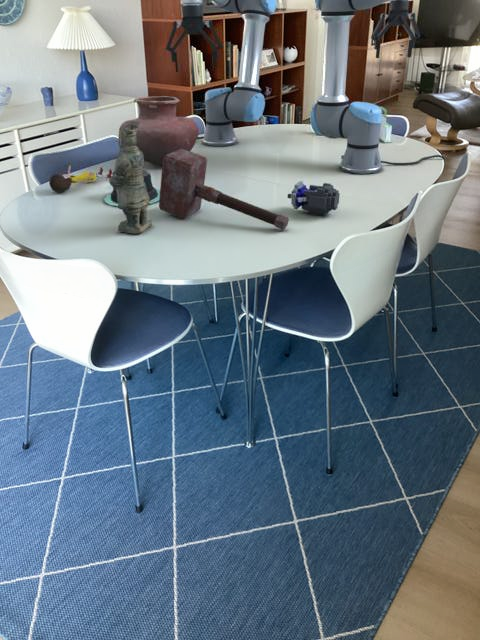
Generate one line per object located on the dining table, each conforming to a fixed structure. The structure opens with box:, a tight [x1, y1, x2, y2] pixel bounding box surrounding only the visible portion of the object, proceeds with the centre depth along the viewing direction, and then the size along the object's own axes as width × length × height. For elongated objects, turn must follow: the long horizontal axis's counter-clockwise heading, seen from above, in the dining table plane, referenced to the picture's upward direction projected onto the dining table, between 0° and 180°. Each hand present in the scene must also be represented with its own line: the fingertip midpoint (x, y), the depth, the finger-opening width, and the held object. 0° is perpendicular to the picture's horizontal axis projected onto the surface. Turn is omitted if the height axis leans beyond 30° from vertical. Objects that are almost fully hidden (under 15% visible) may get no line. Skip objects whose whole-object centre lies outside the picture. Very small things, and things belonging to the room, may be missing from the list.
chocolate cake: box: [103, 168, 160, 207], centre depth 186 cm, size 15×19×20 cm
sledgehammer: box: [158, 149, 290, 231], centre depth 163 cm, size 17×10×40 cm
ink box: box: [379, 106, 393, 143], centre depth 248 cm, size 3×10×14 cm, turn 4°
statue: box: [108, 121, 153, 235], centre depth 154 cm, size 11×9×30 cm
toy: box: [287, 180, 341, 216], centre depth 168 cm, size 9×9×15 cm
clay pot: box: [118, 95, 200, 166], centre depth 218 cm, size 30×30×25 cm
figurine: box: [48, 164, 113, 193], centre depth 199 cm, size 13×8×25 cm
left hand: (195, 71), depth 204 cm, fingers open, 13 cm apart
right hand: (393, 57), depth 234 cm, fingers open, 13 cm apart
